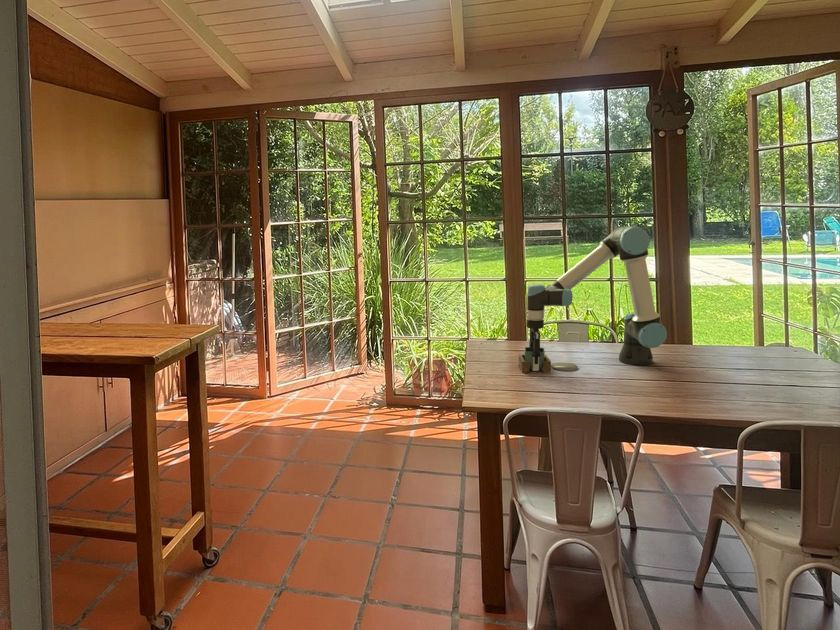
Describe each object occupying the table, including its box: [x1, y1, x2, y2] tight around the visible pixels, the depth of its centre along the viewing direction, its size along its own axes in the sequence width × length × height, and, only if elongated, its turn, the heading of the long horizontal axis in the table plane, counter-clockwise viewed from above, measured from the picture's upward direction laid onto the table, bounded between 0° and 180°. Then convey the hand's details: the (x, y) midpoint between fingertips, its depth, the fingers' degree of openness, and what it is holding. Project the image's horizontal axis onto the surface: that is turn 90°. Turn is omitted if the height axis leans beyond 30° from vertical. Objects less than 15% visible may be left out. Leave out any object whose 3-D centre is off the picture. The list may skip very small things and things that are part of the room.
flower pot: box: [524, 346, 546, 371], centre depth 242 cm, size 9×9×9 cm
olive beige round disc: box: [551, 362, 579, 372], centre depth 244 cm, size 12×12×1 cm
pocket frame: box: [518, 354, 552, 374], centre depth 242 cm, size 13×13×5 cm
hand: (534, 367), depth 242 cm, fingers closed on flower pot, 9 cm apart
